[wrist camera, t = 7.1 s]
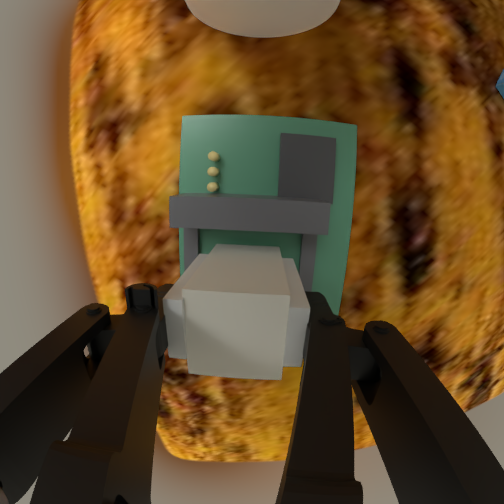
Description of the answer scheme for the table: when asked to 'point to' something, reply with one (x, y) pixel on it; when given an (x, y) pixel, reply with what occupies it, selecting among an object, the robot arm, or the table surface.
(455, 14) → the table surface
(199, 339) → the plug
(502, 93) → the ink box
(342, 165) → the board
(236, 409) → the table surface
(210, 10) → the canister
